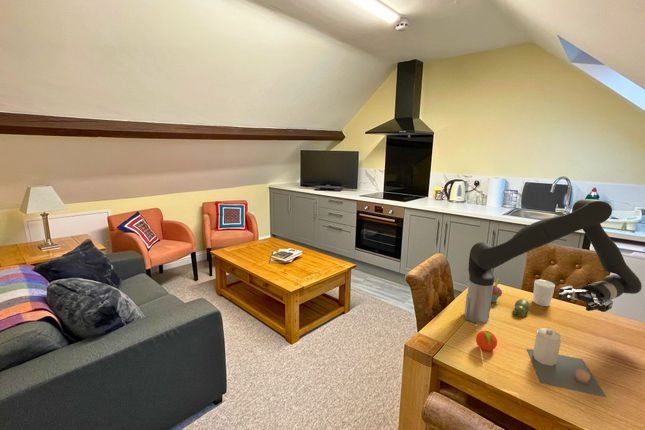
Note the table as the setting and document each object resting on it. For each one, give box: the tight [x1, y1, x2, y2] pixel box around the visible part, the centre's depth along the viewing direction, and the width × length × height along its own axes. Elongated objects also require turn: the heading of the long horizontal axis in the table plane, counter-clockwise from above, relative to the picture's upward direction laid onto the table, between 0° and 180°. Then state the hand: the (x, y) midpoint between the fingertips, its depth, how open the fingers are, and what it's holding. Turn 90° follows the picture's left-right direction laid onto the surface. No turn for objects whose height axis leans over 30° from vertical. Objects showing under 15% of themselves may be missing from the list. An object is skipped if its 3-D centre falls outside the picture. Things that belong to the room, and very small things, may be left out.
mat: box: [525, 348, 607, 398], centre depth 106 cm, size 17×18×1 cm
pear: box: [513, 298, 531, 318], centre depth 142 cm, size 6×5×10 cm
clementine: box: [475, 330, 498, 352], centre depth 116 cm, size 8×7×7 cm
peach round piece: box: [575, 369, 590, 385], centre depth 101 cm, size 3×3×3 cm
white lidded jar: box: [533, 327, 562, 366], centre depth 110 cm, size 6×6×11 cm
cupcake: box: [491, 277, 503, 303], centre depth 152 cm, size 9×8×12 cm
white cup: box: [532, 279, 556, 307], centre depth 149 cm, size 8×8×10 cm
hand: (573, 302), depth 112 cm, fingers open, 8 cm apart
